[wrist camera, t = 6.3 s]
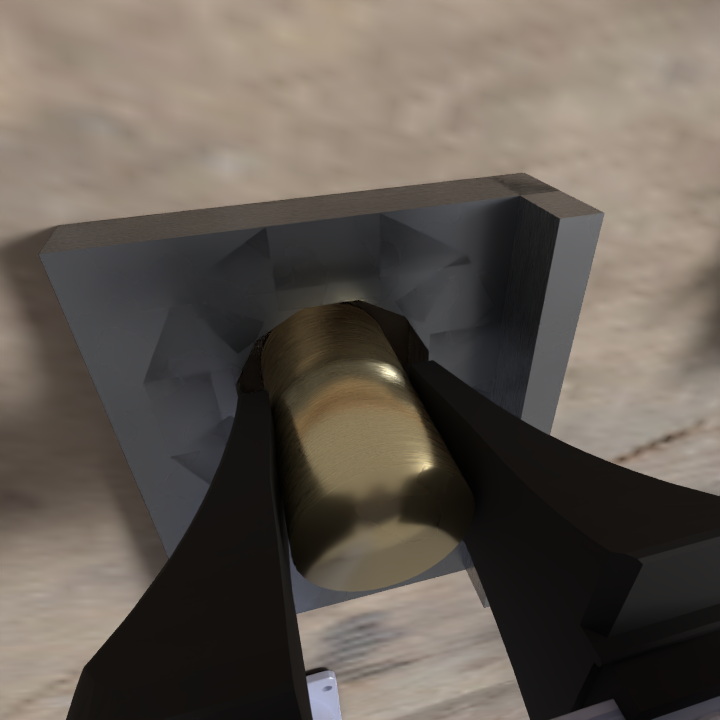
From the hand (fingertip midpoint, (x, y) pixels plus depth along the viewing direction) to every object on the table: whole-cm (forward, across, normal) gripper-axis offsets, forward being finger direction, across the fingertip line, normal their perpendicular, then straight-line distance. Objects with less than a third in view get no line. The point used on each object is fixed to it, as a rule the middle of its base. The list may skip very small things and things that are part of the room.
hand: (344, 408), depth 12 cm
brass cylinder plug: (+2, 0, 0) cm, 2 cm away
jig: (+2, 0, +3) cm, 4 cm away
